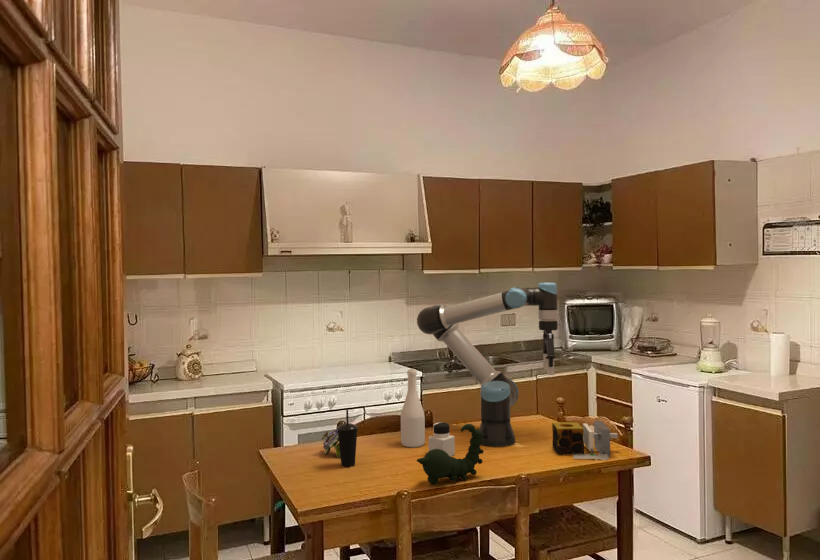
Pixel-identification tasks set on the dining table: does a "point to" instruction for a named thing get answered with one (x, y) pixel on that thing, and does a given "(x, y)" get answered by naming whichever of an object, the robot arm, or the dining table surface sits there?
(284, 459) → the dining table surface
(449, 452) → the medicine bottle
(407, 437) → the wine bottle
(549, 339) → the robot arm
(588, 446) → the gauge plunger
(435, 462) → the toy figurine
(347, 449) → the drinking cup
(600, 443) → the grey open frame block
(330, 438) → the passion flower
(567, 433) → the black and yellow cube
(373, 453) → the dining table surface
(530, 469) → the dining table surface
